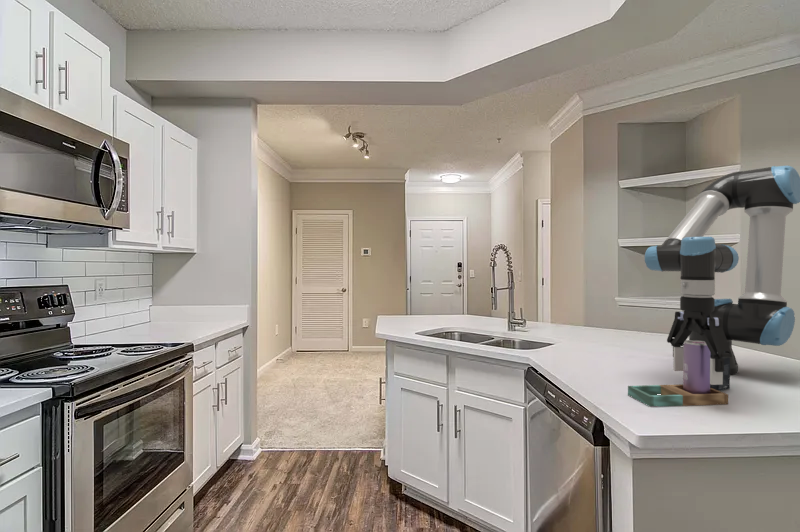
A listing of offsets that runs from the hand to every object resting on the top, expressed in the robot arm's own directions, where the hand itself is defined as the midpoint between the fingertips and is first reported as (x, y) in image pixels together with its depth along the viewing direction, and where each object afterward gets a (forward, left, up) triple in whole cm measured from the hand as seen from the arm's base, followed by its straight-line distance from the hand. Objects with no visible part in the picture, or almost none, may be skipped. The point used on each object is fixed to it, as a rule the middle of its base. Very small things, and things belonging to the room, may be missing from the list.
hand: (696, 377), depth 120 cm
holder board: (+5, 0, -6) cm, 8 cm away
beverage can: (0, 0, -6) cm, 6 cm away
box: (-12, -10, -6) cm, 16 cm away
